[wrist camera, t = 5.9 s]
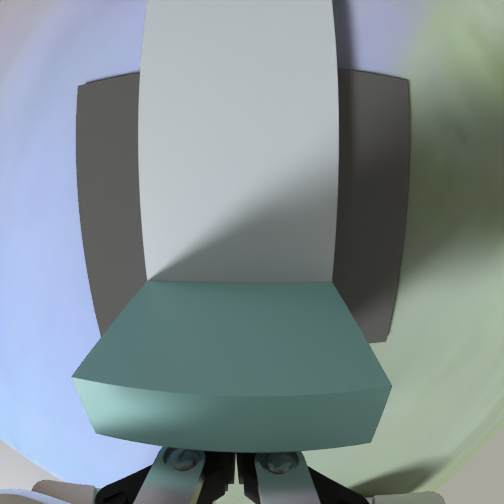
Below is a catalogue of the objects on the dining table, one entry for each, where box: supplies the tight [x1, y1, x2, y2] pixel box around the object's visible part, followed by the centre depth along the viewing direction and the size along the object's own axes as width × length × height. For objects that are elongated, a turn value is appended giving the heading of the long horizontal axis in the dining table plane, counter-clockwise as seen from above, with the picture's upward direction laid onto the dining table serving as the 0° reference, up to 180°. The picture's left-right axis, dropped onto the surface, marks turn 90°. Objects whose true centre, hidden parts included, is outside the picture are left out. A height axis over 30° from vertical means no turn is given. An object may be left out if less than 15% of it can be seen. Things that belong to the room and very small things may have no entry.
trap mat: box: [76, 69, 410, 343], centre depth 12 cm, size 14×12×1 cm
